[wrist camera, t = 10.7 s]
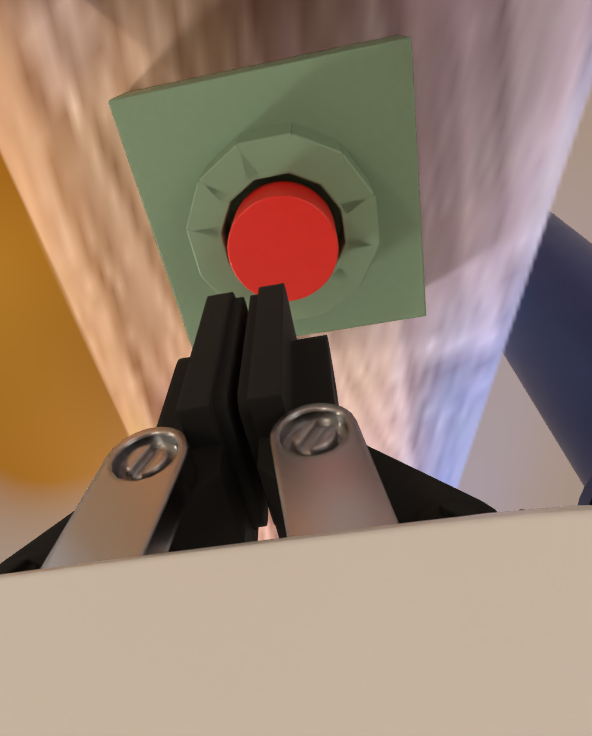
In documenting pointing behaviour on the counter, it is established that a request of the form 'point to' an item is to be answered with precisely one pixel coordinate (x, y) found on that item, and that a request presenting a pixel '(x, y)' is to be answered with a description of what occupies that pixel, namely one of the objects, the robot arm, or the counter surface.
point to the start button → (283, 239)
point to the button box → (287, 174)
